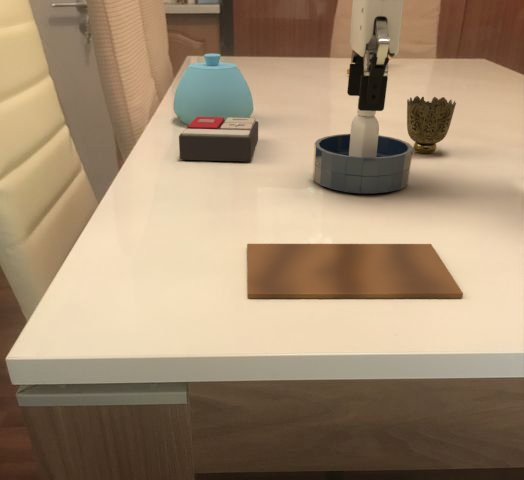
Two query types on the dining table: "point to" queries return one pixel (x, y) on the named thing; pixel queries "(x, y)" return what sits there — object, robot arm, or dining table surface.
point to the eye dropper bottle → (364, 134)
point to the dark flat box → (219, 139)
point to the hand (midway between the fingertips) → (364, 102)
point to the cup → (428, 122)
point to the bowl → (361, 165)
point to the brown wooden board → (348, 271)
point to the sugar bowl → (212, 91)
